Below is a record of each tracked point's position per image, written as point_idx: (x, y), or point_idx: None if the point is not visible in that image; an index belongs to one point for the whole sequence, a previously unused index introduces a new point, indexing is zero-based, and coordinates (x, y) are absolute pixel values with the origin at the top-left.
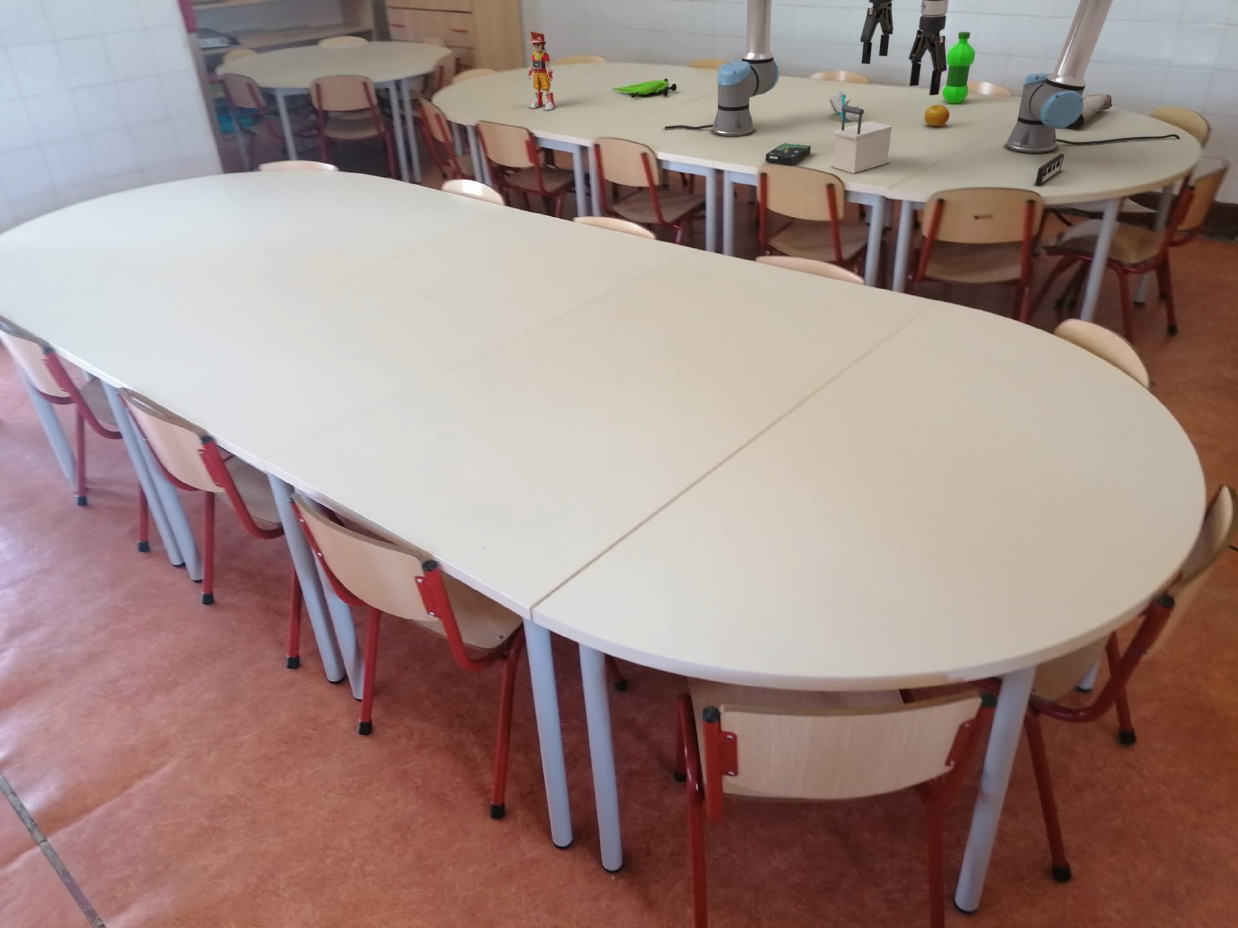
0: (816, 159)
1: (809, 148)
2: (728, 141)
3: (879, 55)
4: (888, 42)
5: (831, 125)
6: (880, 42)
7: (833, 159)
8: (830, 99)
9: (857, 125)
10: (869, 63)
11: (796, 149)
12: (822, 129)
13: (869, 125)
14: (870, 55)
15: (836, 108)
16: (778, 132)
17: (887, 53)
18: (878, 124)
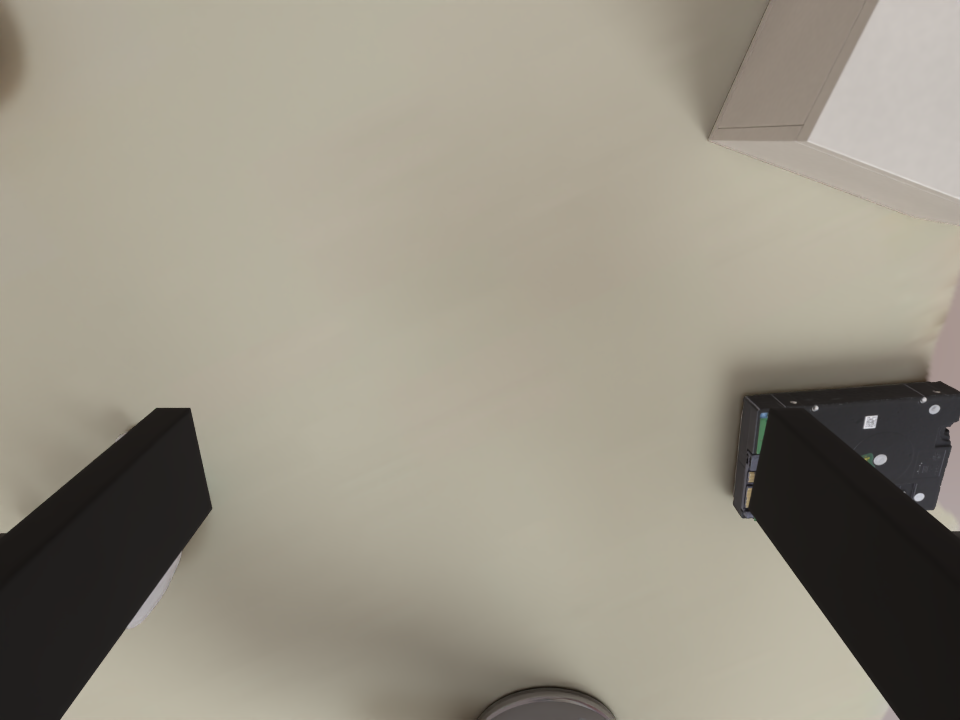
0: (807, 337)
1: (771, 405)
2: (667, 700)
3: (203, 506)
4: (12, 539)
5: (276, 505)
6: (97, 660)
7: (941, 222)
8: (140, 621)
9: (944, 170)
10: (798, 413)
11: None
12: (354, 510)
13: (930, 88)
14: (856, 476)
15: (179, 558)
16: (481, 622)
17: (136, 427)
18: (889, 33)
